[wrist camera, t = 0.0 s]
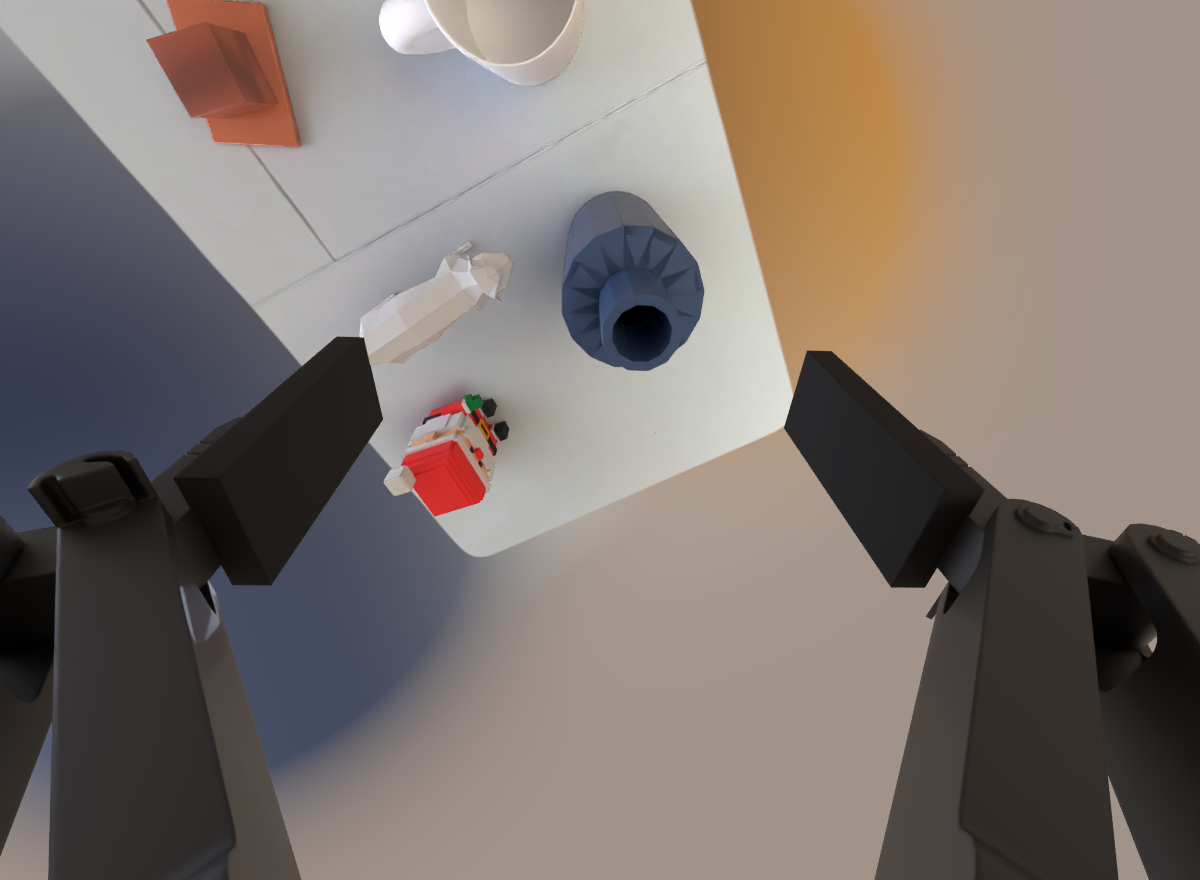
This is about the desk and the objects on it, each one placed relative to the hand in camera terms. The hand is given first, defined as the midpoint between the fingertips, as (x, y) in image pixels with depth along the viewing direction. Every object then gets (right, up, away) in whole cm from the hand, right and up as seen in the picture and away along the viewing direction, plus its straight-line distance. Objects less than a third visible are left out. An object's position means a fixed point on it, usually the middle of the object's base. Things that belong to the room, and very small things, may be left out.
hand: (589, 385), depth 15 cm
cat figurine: (-15, +11, +28) cm, 33 cm away
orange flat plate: (-25, +24, +19) cm, 39 cm away
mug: (-7, +27, +18) cm, 33 cm away
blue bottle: (+2, +15, +26) cm, 30 cm away
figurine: (-13, 0, +35) cm, 37 cm away
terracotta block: (-25, +23, +19) cm, 39 cm away
